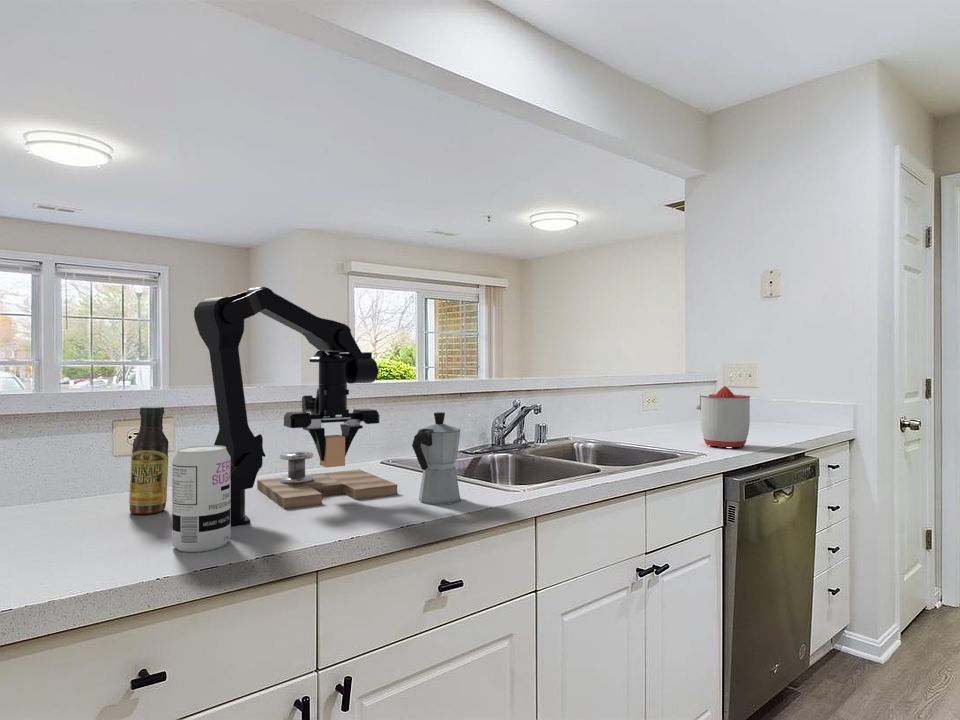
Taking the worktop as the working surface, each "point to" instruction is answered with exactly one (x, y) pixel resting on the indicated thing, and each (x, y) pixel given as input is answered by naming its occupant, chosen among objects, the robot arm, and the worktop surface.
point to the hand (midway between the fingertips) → (332, 459)
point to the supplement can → (201, 498)
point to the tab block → (334, 451)
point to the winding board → (326, 488)
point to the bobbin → (296, 467)
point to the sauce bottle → (149, 464)
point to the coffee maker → (438, 461)
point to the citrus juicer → (725, 418)
